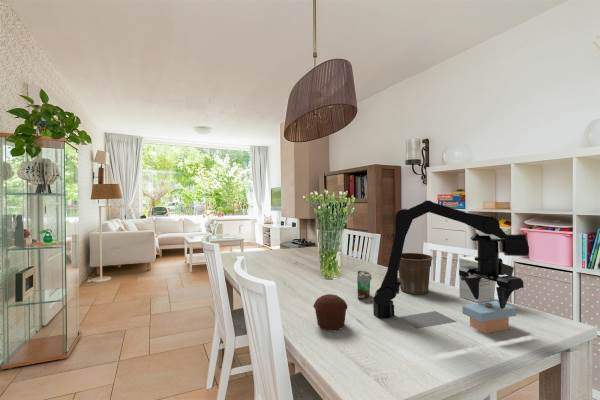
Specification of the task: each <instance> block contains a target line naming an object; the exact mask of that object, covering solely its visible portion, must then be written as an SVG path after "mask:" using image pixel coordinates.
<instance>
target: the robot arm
mask: <svg viewBox="0 0 600 400" xmlns="http://www.w3.org/2000/svg"><path fill="white" fill-rule="evenodd" d="M427 213H429V214H430V213H431V214H434V215H437V216H440V217H443V218H446V219H449V220H452V221H456V222H459V223H463V224H465V225H467V226H469V227H471V228H472V229H474V230H477V231H479V232H481V233H483V234H485V235H480V234H479V233H478V232H475V233H474V234H473V235H472V236H471V237H470V241H473V242H476V243H477V245H476V246H477V247H476V248H477V256H476V257H475V261H478V268H477V267H473V266H466V267H461V268H460V269H458V276H459V275H460V276H464V277H462V279H464V280H465V282H466V283H467V285H468V287H469V288H470V290H471V292H472V294H473V296H474V298H475V299H479V282H480V280H481V278H484V279H488V280H492V281H494V283H495V282H496V285H497V286H496V288H495V289H496V292H497V294H496V295H497V299H498V302H499V305H500V308H501V309H503V308H505V305H507V304H508V303H507V302H508V300H509V299H510V296H511V295H512V293H513V292H514V291H518V290H519V289H523V288H524V287H525V286H524V280H523V279H522V278H521V277H517V276H513V273H514V271H515V270H514V269H515V267H514V266H511V265H508V264H505V263H503V259H502V258H499V257H500V255H499V254H500V253H499V252H501V253H502V254H503V255H504V256H506V257H507V256H511V257H528V256H529V253H530V245H529V244H528V240H527V236H526V234H524V233H517V234H509V233H508V234H506V232H505V231H504V230H503V229H502V228H501V223H500V222H499V220H498V218H496V217H494V216H491V215H486V214H479V213H471V212H465V211H463V210H459V209H455V208H453V207H449V206H447V205H443V204H441V203H440V204H439V203H436V202H433V201H432V200H428V199H427V200H424V201H423V202H421V203H419V204H417V205H415V206H412V207H410V208H401V209H399V210H398V211H397V212H396V213H395V216H394V219H395V220H394V237H393V242H392V248H391V251H390V256H389V260H388V266H387V269H386V271H385V272H386V273H385V275H384V277H383V280H382V281H381V284H380V287H379V288H378V289H377V290H376V291H375V294H374V295H373V300H372V301H373V302H372V305H373V306H372V309H373V316H374V317H375V318H377V319H385V320H386V319H391V318H392V317H394V316H395V305H394V301H393V300H394V299H395V298H396V296H397V295H399V293H400V290H401V289H400V284H401V278H399V270H398V269H399V264H400V260H401V255H402V253H403V250H404V245H405V241H406V240H405V239H406V236H407V234H408V232H409V229H410V227H411V225H412V223H413V220H415V219H417V218H419V217H421V216H424V215H425V214H427ZM491 235H492V236H494V237H496V238H492V237H491ZM491 277H493V278H491Z"/></svg>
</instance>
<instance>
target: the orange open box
mask: <svg viewBox="0 0 600 400" xmlns="http://www.w3.org/2000/svg"><path fill="white" fill-rule="evenodd" d="M509 318H510V317H506V318H500V319H495V320H489V321H483V322H480V321H478V320H476V319H474V318H471V317H469V326H470V327H471V328H473V329H475V330H478V331H480V332H482V333H483V334H488V333H493V332H497V331H503V330H508V329H510V323H509V322H510V321H509Z"/></svg>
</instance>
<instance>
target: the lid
mask: <svg viewBox="0 0 600 400" xmlns="http://www.w3.org/2000/svg"><path fill="white" fill-rule="evenodd" d="M461 307H462V309H461V311H462V314H463V315H465V316H467V317H469V318H470V317H471V318H474V319H476V320H478V321H480V322H483V321H489V320H495V319H500V318H506V317H509V318H510V317H511V318H512V317H515V316H517V310H516V307H514V306H511V305H508V304H506V305H505V308H503V309H501V308H500V305H499V301H497V300H493V301H487V302H482V303H474V304H473V303H471V304H467V305H465V304H464V305H462V306H461Z"/></svg>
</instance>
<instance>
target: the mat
mask: <svg viewBox="0 0 600 400" xmlns="http://www.w3.org/2000/svg"><path fill="white" fill-rule="evenodd" d="M398 318H399V319H400V320H402V321H403V322H405V323H406V324H407V323H408V324H409V325H411V326H412V327H414V328H415V329H423V328H428V327H434V326H440V325H445V324H451V323H452V324H453V323H457V320H455V319H453V318H450V317H449V316H446V315H444V314H442V313H440V312H437V311H436V310H435V311H434V310H433V311H428V312H422V313H415V314H408V315H402V316H398Z"/></svg>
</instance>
